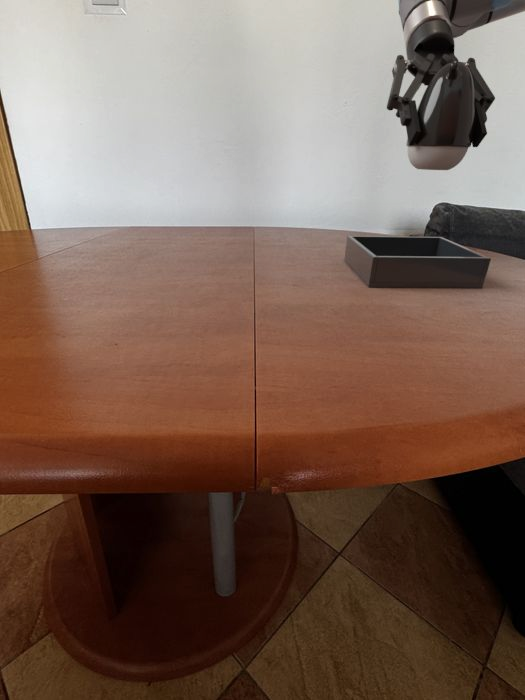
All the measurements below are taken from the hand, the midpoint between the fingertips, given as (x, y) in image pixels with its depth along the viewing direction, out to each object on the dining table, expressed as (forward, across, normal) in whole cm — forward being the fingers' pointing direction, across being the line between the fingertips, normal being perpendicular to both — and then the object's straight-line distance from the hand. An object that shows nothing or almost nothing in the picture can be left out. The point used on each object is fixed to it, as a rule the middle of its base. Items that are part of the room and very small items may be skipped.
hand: (447, 139), depth 61 cm
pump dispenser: (+1, 0, -5) cm, 6 cm away
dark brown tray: (+17, +4, -12) cm, 22 cm away
